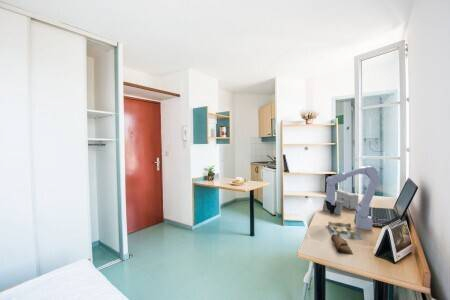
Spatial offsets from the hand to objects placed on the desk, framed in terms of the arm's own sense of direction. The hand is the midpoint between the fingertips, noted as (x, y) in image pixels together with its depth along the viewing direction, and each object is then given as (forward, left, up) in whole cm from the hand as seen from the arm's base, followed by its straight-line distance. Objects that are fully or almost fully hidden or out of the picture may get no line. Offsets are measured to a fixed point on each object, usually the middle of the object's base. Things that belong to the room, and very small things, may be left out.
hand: (330, 212), depth 159 cm
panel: (-5, +10, -9) cm, 14 cm away
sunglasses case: (+1, +33, -10) cm, 34 cm away
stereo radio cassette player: (-25, -51, -10) cm, 58 cm away
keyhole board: (-5, +13, -10) cm, 17 cm away
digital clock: (-8, -30, -10) cm, 33 cm away
